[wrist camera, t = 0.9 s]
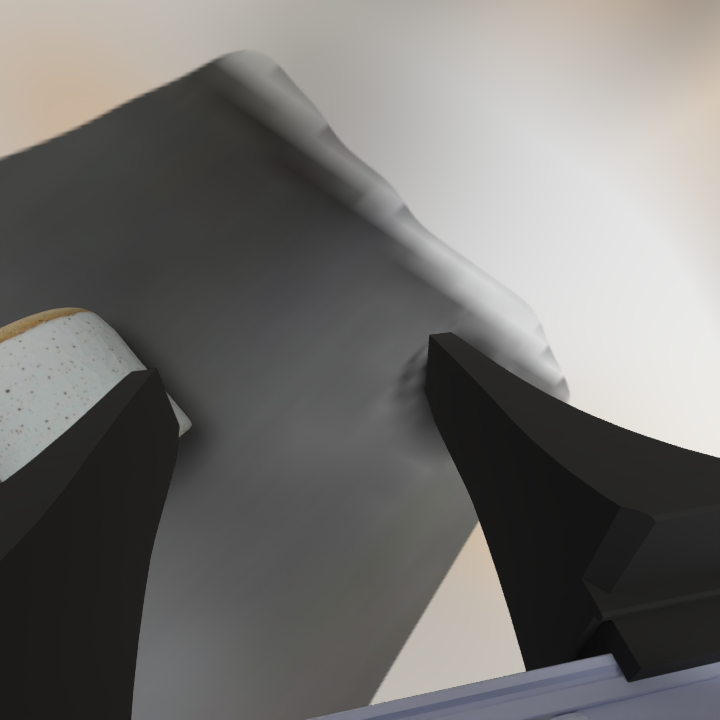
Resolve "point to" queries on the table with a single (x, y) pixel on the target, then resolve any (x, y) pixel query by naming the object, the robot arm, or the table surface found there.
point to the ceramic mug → (56, 379)
